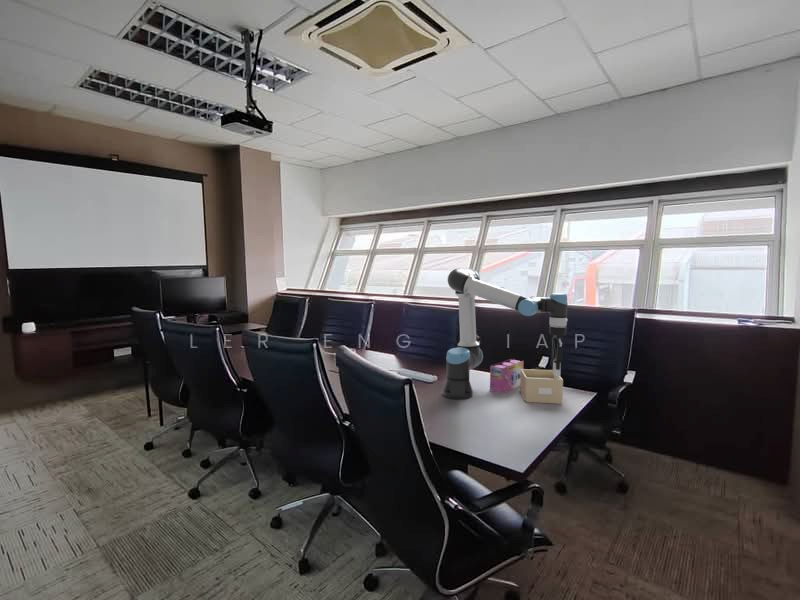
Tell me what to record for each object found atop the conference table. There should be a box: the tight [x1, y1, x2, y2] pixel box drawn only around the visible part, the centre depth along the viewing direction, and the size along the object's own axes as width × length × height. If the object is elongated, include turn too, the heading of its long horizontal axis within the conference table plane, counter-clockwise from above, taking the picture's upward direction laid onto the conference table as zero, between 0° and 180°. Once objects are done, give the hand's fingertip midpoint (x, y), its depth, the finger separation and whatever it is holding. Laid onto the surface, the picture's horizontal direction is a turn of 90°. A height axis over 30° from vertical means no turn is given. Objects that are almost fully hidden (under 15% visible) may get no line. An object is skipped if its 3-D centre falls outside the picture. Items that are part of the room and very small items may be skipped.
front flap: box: [525, 376, 564, 405], centre depth 189 cm, size 17×2×22 cm, turn 81°
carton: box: [519, 368, 563, 403], centre depth 198 cm, size 17×17×12 cm
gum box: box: [489, 358, 525, 394], centre depth 215 cm, size 24×8×14 cm, turn 135°
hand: (556, 375), depth 188 cm, fingers closed on front flap, 2 cm apart
